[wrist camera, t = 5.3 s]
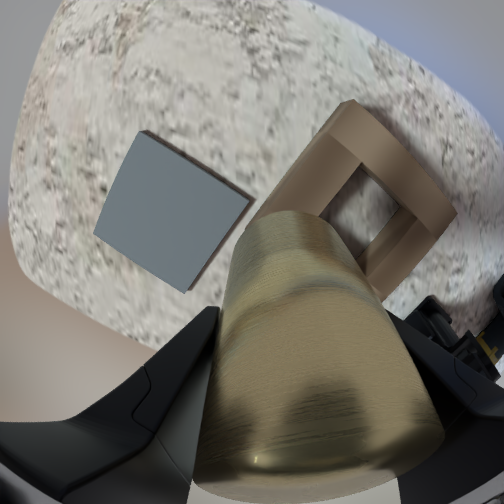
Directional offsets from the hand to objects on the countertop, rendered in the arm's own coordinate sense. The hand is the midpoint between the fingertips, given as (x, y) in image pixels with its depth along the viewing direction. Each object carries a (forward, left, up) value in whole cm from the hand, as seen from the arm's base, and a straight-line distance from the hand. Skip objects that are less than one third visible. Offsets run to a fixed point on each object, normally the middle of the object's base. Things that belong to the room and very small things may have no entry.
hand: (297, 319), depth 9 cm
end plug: (0, 0, -4) cm, 4 cm away
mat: (+7, +6, -13) cm, 16 cm away
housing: (-5, -3, -13) cm, 14 cm away
